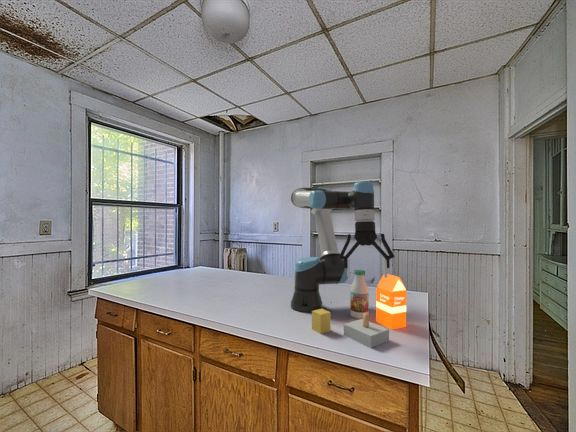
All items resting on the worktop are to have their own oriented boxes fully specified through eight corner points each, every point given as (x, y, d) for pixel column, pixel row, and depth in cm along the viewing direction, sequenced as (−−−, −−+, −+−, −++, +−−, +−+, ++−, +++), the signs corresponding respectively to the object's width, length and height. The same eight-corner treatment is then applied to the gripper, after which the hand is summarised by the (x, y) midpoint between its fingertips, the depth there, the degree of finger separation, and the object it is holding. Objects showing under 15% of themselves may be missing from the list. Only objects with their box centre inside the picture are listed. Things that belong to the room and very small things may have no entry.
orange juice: (391, 329, 107) (392, 278, 107) (375, 321, 115) (376, 273, 115) (406, 326, 110) (407, 276, 110) (390, 318, 118) (390, 272, 118)
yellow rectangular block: (311, 329, 106) (312, 310, 106) (321, 326, 109) (321, 308, 109) (320, 333, 102) (320, 314, 102) (330, 330, 105) (330, 312, 105)
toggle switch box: (343, 335, 101) (344, 311, 101) (361, 328, 107) (362, 307, 107) (370, 348, 91) (370, 322, 91) (388, 340, 97) (389, 316, 97)
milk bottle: (347, 313, 124) (348, 268, 124) (364, 312, 125) (365, 268, 125) (353, 319, 116) (354, 272, 117) (371, 319, 117) (371, 272, 117)
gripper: (332, 221, 105) (334, 278, 103) (401, 220, 101) (404, 278, 99) (332, 222, 112) (333, 275, 110) (395, 221, 109) (398, 276, 107)
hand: (367, 277), depth 105 cm, fingers open, 13 cm apart
